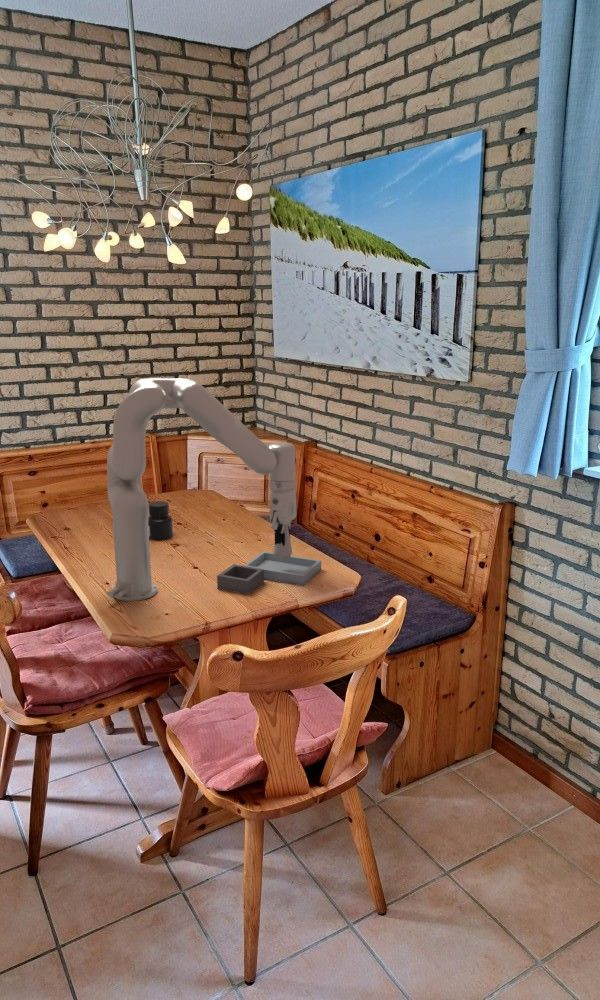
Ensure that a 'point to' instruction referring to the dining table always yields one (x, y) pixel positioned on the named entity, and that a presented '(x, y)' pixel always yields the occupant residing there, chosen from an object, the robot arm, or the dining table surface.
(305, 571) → the tray
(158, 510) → the ink bottle
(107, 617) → the dining table surface
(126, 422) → the robot arm
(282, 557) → the salt shaker
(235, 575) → the holder
